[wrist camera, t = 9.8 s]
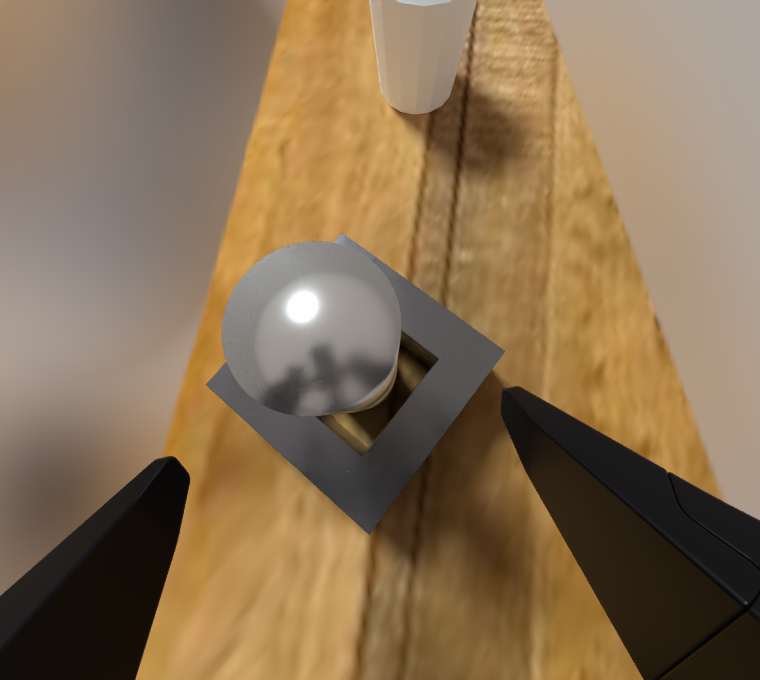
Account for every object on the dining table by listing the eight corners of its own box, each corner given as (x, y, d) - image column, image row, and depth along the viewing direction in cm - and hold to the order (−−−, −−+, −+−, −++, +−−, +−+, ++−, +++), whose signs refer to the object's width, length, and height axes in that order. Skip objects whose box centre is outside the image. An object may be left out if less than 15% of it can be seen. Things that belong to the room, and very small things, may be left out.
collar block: (373, 510, 18) (369, 534, 14) (238, 388, 20) (205, 384, 16) (485, 361, 19) (505, 351, 16) (350, 261, 21) (342, 232, 18)
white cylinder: (460, 50, 25) (487, -88, 18) (461, 121, 23) (490, 2, 16) (374, 50, 25) (367, -85, 18) (369, 121, 24) (360, 3, 17)
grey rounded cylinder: (385, 419, 19) (373, 443, 7) (318, 399, 19) (191, 388, 7) (403, 352, 20) (423, 262, 7) (339, 334, 20) (257, 222, 8)
